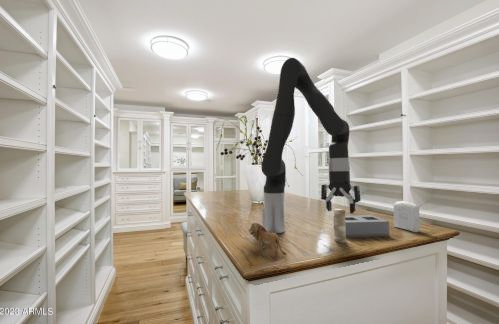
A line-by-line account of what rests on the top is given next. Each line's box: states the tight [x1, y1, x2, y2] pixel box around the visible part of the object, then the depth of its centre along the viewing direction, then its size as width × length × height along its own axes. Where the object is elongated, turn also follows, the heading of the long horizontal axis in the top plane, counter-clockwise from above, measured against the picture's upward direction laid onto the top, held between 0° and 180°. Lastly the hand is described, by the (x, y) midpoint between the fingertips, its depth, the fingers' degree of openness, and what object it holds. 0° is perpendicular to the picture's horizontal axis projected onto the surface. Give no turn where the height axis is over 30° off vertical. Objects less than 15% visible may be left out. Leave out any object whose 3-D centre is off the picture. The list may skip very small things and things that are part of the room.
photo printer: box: [393, 200, 420, 233], centre depth 106 cm, size 10×4×12 cm, turn 23°
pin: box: [333, 208, 347, 244], centre depth 90 cm, size 4×4×12 cm
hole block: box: [345, 214, 390, 238], centre depth 101 cm, size 18×12×6 cm, turn 93°
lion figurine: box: [248, 222, 287, 257], centre depth 81 cm, size 15×5×9 cm, turn 50°
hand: (340, 212), depth 90 cm, fingers open, 8 cm apart
